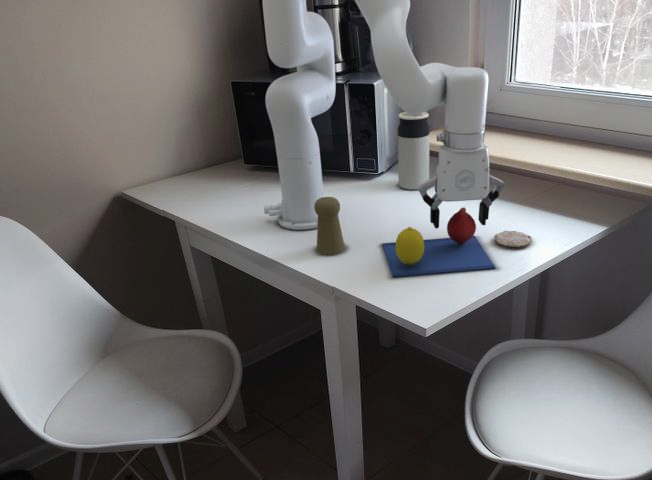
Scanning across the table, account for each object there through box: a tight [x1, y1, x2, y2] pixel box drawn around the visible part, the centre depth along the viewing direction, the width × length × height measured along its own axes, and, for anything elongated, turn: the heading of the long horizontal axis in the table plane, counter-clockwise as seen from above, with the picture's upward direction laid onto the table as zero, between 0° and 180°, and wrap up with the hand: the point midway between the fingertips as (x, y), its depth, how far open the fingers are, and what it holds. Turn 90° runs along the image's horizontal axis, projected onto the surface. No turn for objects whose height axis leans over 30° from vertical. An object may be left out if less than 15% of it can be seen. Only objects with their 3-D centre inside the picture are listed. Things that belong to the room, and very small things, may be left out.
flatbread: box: [493, 230, 533, 248], centre depth 130 cm, size 8×8×1 cm
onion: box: [446, 206, 477, 245], centre depth 127 cm, size 6×6×8 cm
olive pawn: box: [314, 196, 346, 256], centre depth 128 cm, size 6×6×11 cm
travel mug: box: [397, 111, 430, 191], centre depth 158 cm, size 8×8×18 cm
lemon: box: [395, 226, 424, 266], centre depth 119 cm, size 6×6×8 cm
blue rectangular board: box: [382, 235, 496, 279], centre depth 125 cm, size 20×16×1 cm
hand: (458, 224), depth 127 cm, fingers open, 9 cm apart
